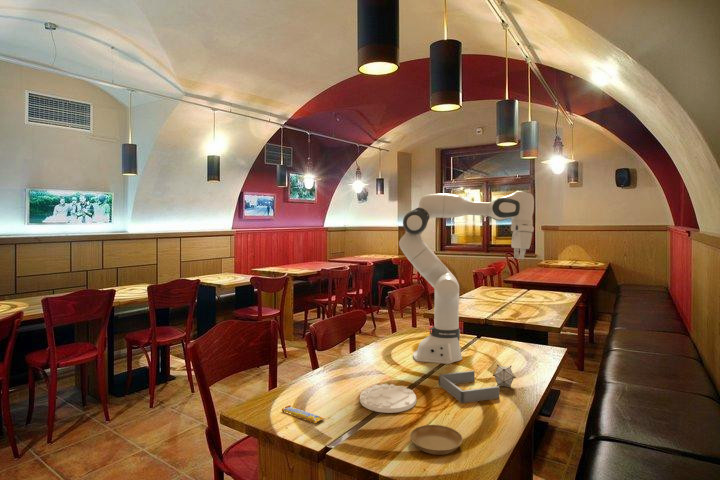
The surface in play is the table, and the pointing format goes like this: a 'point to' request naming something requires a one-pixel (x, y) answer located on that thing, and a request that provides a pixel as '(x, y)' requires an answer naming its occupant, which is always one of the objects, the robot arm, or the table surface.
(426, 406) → the table surface
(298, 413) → the candy bar
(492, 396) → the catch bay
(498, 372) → the game die
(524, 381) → the table surface
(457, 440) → the plant saucer
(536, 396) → the table surface
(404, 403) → the embossed medallion
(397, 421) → the table surface
